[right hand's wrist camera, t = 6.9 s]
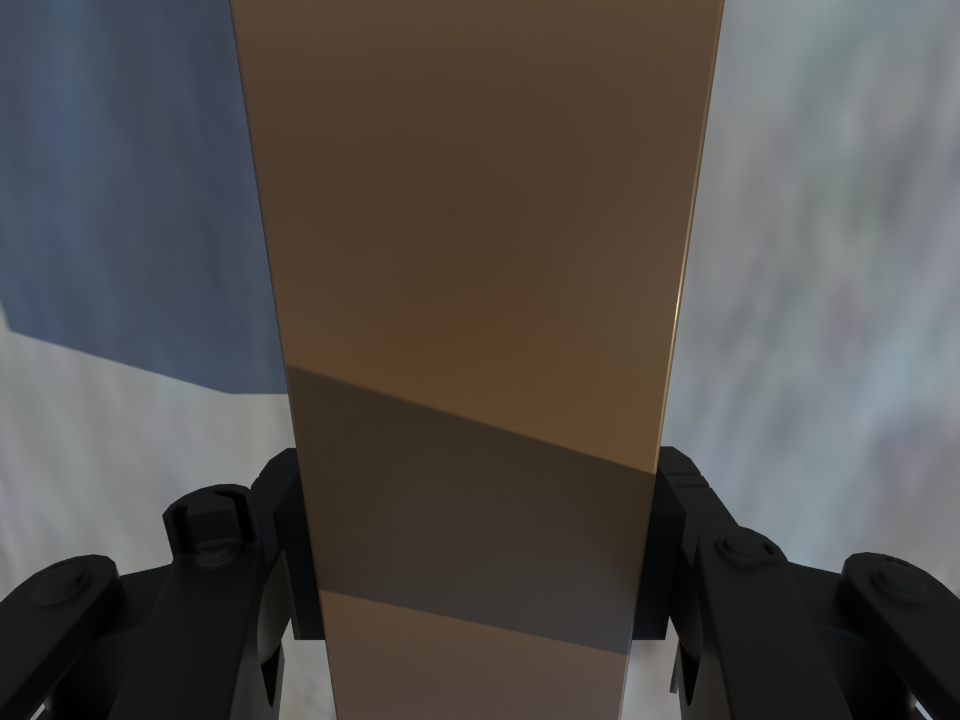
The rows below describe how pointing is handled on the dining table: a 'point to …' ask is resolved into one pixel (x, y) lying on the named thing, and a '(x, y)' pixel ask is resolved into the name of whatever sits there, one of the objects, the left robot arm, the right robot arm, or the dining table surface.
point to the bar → (477, 327)
